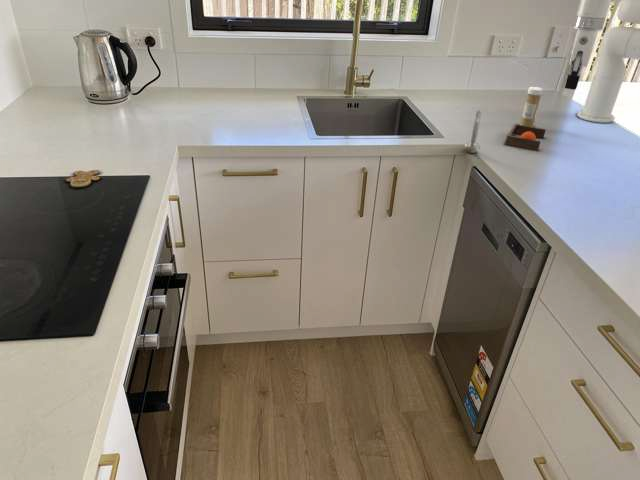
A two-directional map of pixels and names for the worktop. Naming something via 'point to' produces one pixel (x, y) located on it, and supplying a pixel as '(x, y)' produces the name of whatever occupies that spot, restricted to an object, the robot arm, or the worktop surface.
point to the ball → (529, 135)
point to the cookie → (83, 178)
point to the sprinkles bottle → (531, 106)
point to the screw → (474, 135)
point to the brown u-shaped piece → (524, 142)
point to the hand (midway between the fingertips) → (570, 88)
